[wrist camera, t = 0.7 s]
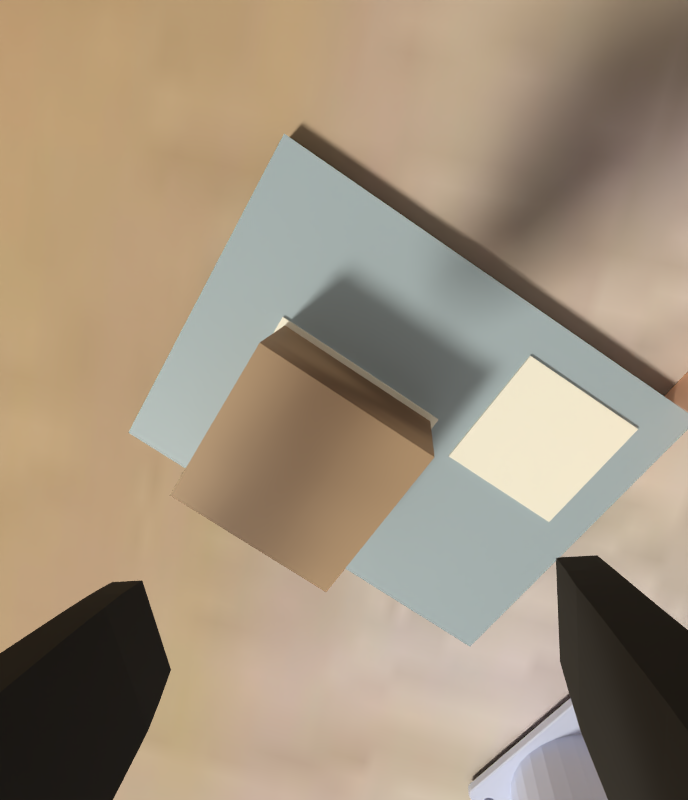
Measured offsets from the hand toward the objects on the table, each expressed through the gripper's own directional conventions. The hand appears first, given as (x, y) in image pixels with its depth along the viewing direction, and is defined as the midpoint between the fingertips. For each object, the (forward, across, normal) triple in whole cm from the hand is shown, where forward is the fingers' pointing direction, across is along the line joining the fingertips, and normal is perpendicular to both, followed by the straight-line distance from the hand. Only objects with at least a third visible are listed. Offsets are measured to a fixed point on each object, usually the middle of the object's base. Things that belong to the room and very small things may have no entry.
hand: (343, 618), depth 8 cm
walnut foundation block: (+10, +2, 0) cm, 10 cm away
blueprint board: (+10, 0, 0) cm, 10 cm away
